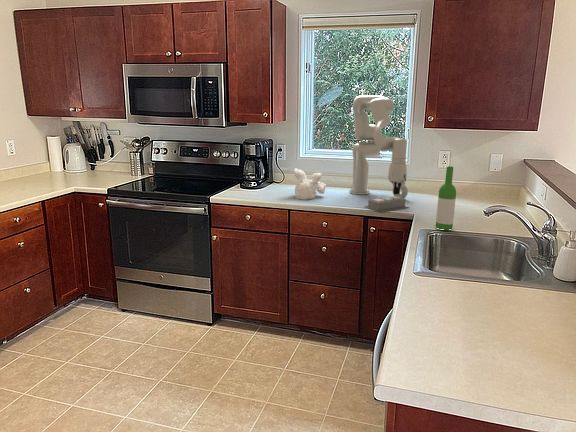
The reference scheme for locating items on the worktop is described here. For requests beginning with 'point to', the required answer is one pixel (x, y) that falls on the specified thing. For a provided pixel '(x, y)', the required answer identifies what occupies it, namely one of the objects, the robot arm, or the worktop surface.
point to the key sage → (395, 197)
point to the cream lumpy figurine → (308, 185)
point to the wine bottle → (446, 202)
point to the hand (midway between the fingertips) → (396, 193)
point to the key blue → (387, 199)
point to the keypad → (387, 205)
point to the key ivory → (378, 200)
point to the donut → (404, 192)
